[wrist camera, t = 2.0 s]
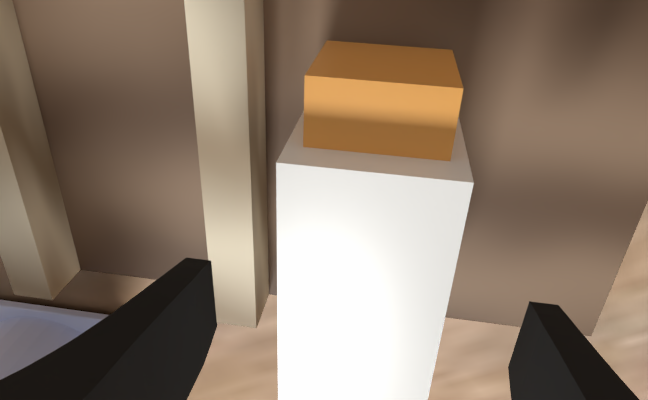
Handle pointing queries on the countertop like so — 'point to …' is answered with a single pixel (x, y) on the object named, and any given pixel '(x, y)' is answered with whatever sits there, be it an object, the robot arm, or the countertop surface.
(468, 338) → the countertop surface
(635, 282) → the countertop surface
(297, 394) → the white tall block
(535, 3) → the board
